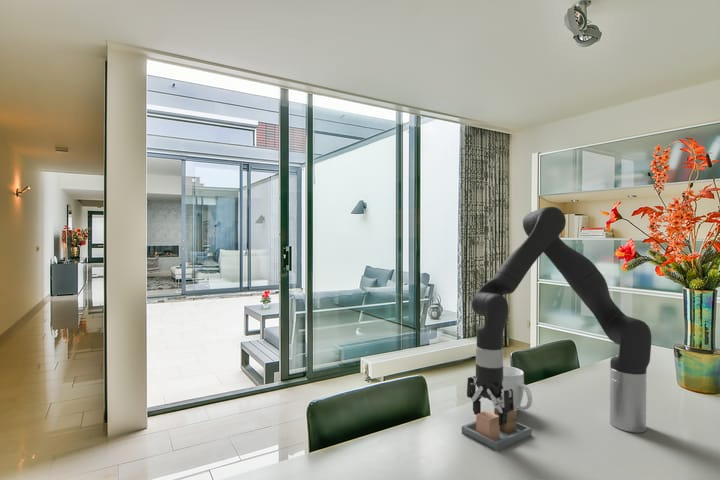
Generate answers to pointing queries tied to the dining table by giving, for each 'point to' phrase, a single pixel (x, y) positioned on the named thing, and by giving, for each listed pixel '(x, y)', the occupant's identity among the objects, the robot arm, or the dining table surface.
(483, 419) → the block
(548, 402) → the dining table surface
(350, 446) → the dining table surface
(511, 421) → the block
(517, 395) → the mug
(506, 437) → the tray
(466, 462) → the dining table surface
